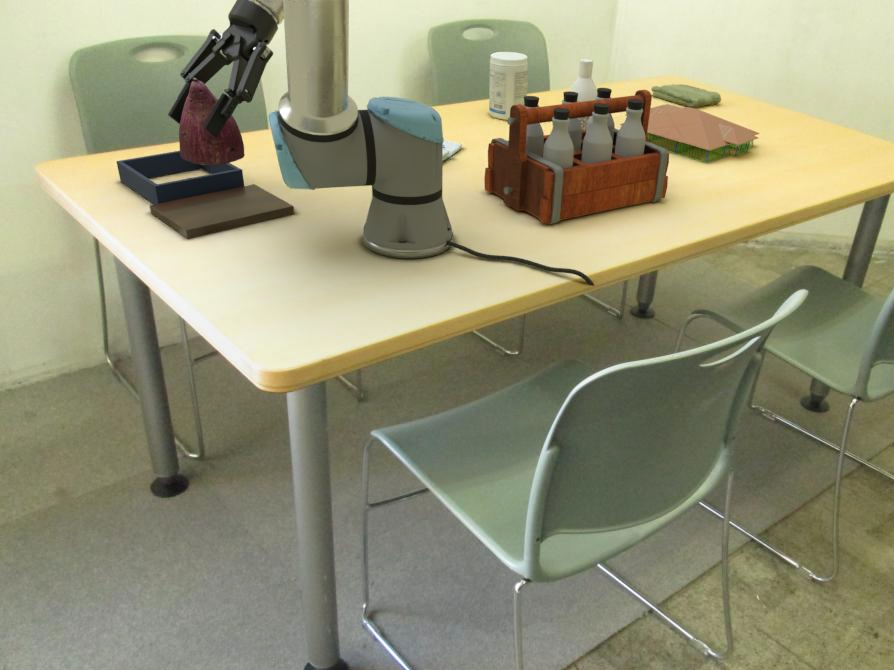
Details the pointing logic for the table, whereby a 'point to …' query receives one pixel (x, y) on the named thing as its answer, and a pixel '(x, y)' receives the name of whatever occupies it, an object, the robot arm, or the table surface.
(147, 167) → the square frame
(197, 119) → the vegetable
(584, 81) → the bath foam
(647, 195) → the milk bottle holder
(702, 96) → the washcloth
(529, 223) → the table surface
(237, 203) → the cutting board
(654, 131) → the house
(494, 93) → the supplement tub
